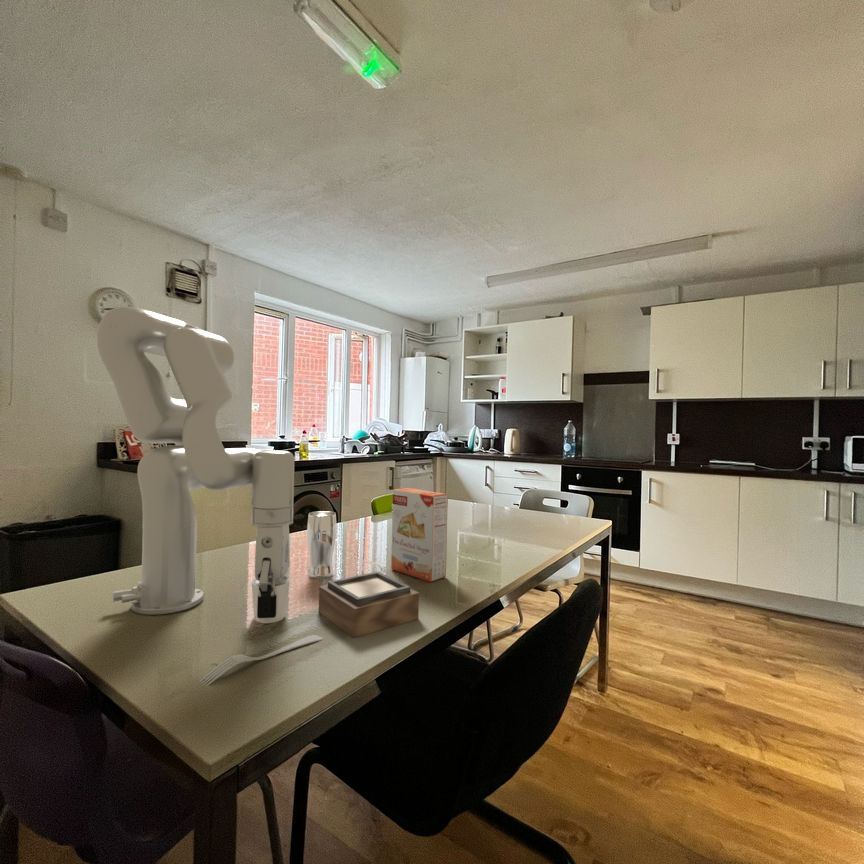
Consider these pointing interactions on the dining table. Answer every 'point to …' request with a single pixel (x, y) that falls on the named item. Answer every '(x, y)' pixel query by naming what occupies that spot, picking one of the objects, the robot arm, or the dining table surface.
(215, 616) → the dining table surface
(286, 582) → the white cylinder
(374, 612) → the display plinth
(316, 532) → the beer glass
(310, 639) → the fork
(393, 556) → the cracker box
